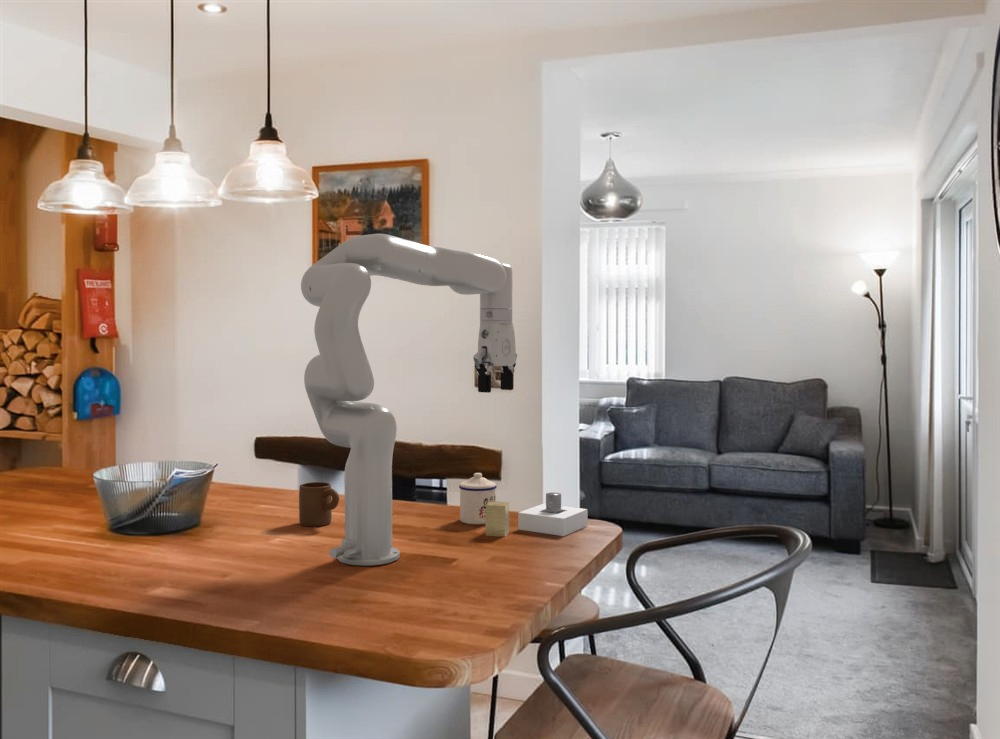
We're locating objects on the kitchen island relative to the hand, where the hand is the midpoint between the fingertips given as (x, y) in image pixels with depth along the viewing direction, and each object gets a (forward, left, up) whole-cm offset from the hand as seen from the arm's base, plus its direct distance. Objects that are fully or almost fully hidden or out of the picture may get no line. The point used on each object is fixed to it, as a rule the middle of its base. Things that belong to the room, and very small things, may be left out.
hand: (495, 390), depth 201 cm
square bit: (-4, -3, -32) cm, 33 cm away
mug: (-19, +37, -32) cm, 53 cm away
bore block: (+8, -11, -32) cm, 35 cm away
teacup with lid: (+6, +8, -32) cm, 34 cm away
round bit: (+8, -11, -32) cm, 35 cm away
